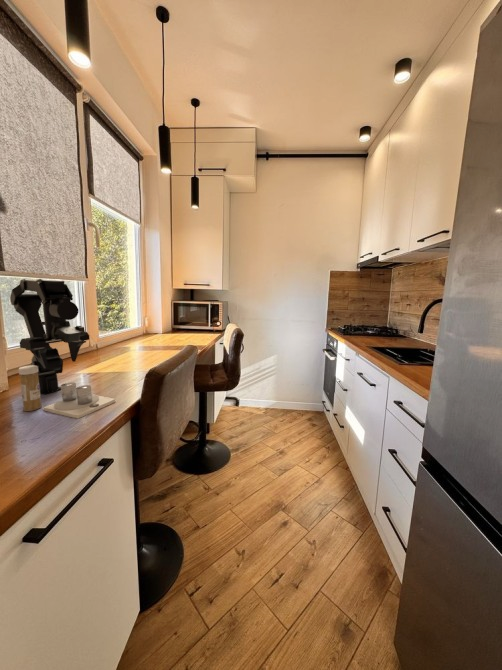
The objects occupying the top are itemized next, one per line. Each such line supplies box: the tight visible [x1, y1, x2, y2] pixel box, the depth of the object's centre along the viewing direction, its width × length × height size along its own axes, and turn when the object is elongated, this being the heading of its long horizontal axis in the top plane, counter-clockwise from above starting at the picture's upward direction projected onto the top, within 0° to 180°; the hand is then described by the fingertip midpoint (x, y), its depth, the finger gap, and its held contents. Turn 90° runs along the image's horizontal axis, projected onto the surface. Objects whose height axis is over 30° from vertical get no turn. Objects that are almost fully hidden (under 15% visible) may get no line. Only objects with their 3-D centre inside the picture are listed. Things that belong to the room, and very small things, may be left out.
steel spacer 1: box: [60, 382, 77, 402], centre depth 85 cm, size 4×4×5 cm
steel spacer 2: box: [76, 384, 93, 405], centre depth 82 cm, size 4×4×5 cm
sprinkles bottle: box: [18, 364, 42, 412], centre depth 81 cm, size 5×5×13 cm
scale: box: [42, 393, 116, 420], centre depth 84 cm, size 15×13×2 cm
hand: (60, 364), depth 88 cm, fingers open, 9 cm apart
